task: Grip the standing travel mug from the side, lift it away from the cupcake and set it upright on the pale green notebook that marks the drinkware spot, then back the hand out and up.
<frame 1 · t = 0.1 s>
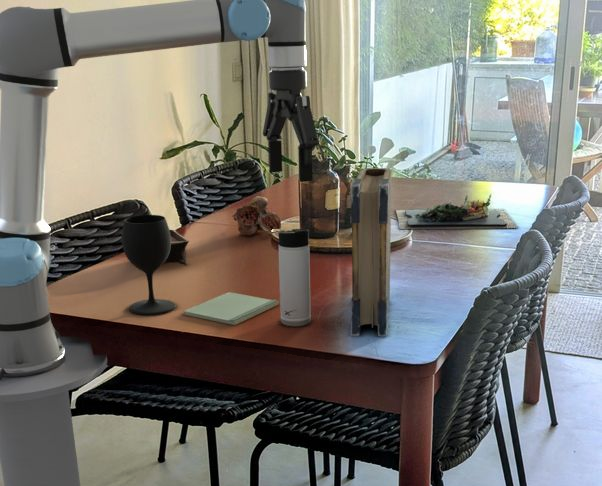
hand: (290, 176, 179), 29 cm above the table, tool pointing down, fingers open, 13 cm apart
pale green notebook: (231, 309, 189), on the table
decorative book: (371, 318, 182), on the table
wine glass: (152, 308, 192), on the table
plated dish: (453, 219, 269), on the table
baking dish: (160, 263, 228), on the table
travel mug: (296, 323, 180), on the table
cupcake: (370, 297, 196), on the table
seed pod: (257, 235, 255), on the table
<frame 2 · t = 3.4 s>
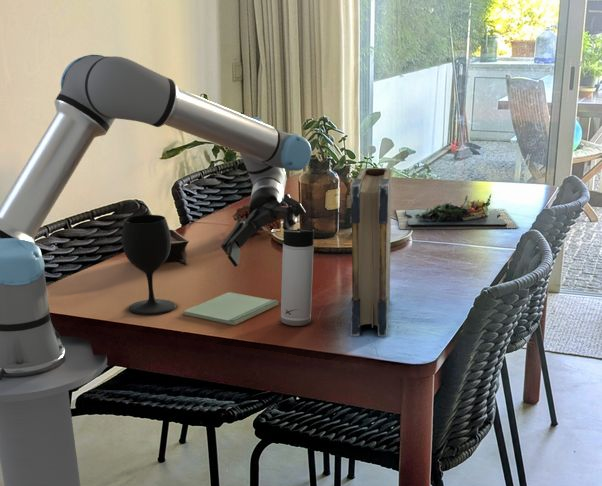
hand: (259, 246, 179), 15 cm above the table, tool horizontal, fingers open, 13 cm apart
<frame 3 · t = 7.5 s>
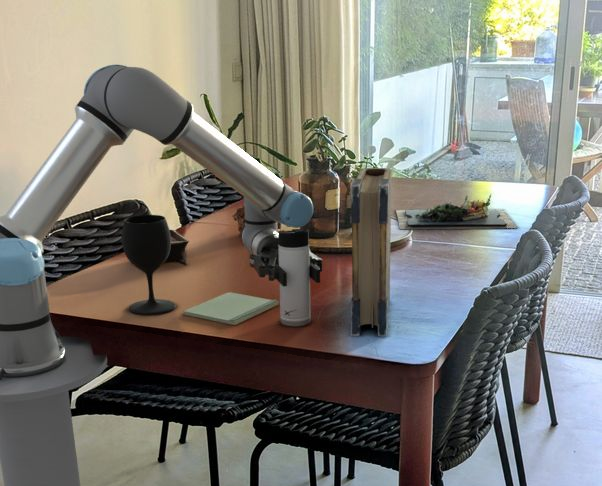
hand: (301, 278, 172), 11 cm above the table, tool horizontal, fingers closed on travel mug, 6 cm apart
travel mug: (295, 323, 180), on the table, touching gripper
everything else where it was.
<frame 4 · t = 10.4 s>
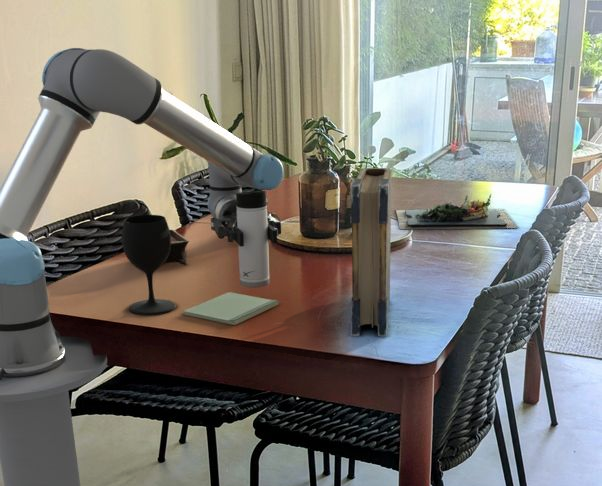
hand: (258, 238, 175), 18 cm above the table, tool horizontal, fingers closed on travel mug, 6 cm apart
travel mug: (255, 284, 183), point 7 cm above the table, touching gripper
everything else where it was.
when the fingers open (12 cm above the table, at t = 13.4 s): travel mug stays where it is, resting on pale green notebook.
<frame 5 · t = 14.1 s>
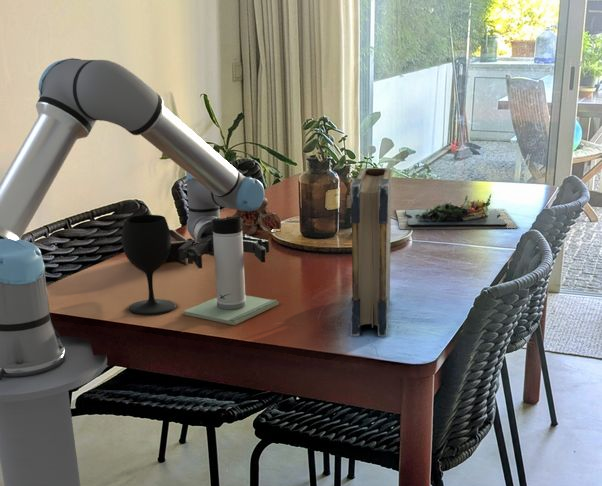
hand: (232, 259, 182), 12 cm above the table, tool horizontal, fingers open, 13 cm apart
travel mug: (231, 306, 189), point 1 cm above the table, touching pale green notebook
everything else where it was.
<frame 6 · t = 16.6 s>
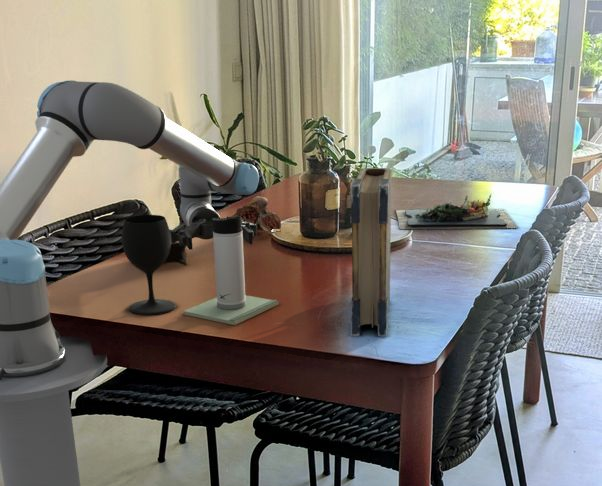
hand: (220, 241, 192), 13 cm above the table, tool horizontal, fingers open, 13 cm apart
nothing on the table moved.
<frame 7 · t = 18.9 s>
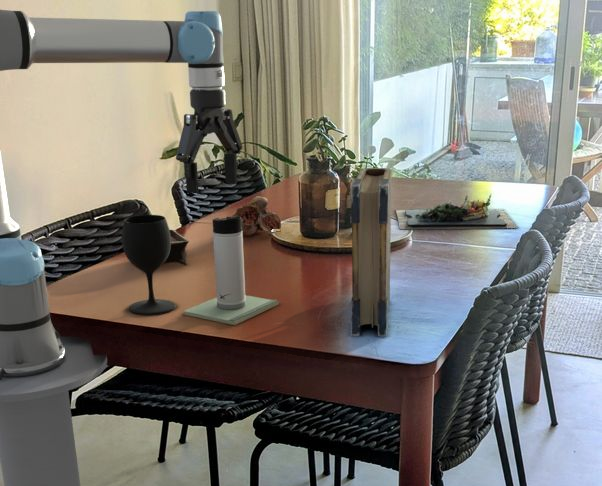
hand: (212, 188, 192), 24 cm above the table, tool pointing down, fingers open, 13 cm apart
nothing on the table moved.
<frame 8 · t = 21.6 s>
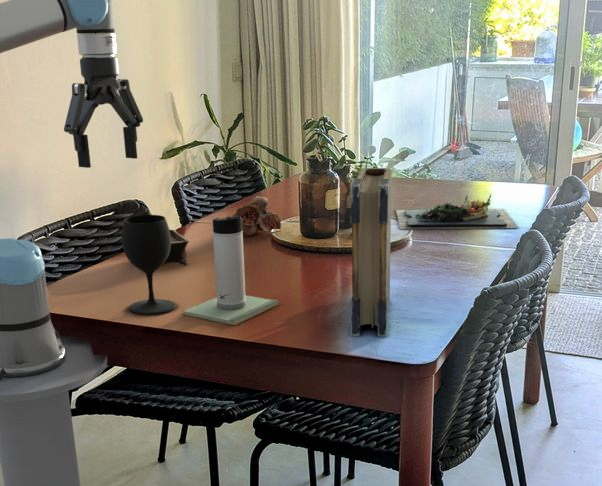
hand: (108, 162, 182), 32 cm above the table, tool pointing down, fingers open, 13 cm apart
nothing on the table moved.
at the end: travel mug inside the target area (0.1 cm from its centre), point 0.6 cm above the table; travel mug tilted 0°; the gripper is holding nothing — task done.
